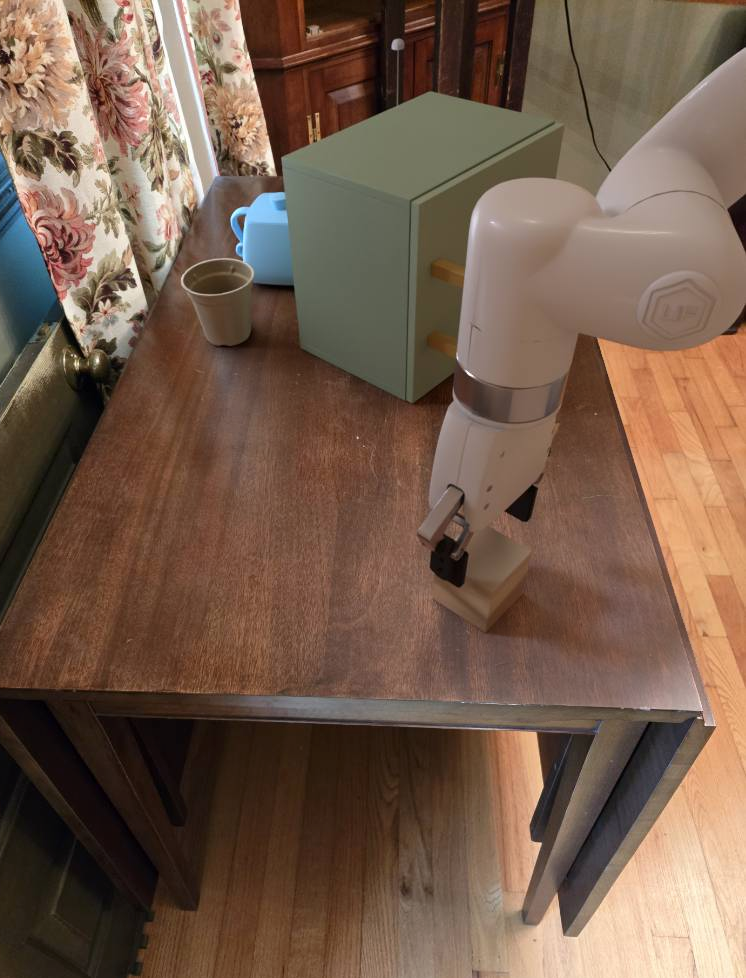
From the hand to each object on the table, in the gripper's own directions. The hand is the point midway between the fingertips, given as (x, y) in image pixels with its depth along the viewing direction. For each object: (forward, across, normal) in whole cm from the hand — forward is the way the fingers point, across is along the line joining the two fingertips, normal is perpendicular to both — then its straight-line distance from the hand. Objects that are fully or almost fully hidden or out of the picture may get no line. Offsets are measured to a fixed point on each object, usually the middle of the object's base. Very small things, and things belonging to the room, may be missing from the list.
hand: (481, 544), depth 62 cm
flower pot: (+8, -15, -52) cm, 54 cm away
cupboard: (+7, -32, -33) cm, 46 cm away
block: (+7, 0, 0) cm, 7 cm away
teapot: (+8, -33, -57) cm, 66 cm away
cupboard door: (+7, -32, -20) cm, 38 cm away
